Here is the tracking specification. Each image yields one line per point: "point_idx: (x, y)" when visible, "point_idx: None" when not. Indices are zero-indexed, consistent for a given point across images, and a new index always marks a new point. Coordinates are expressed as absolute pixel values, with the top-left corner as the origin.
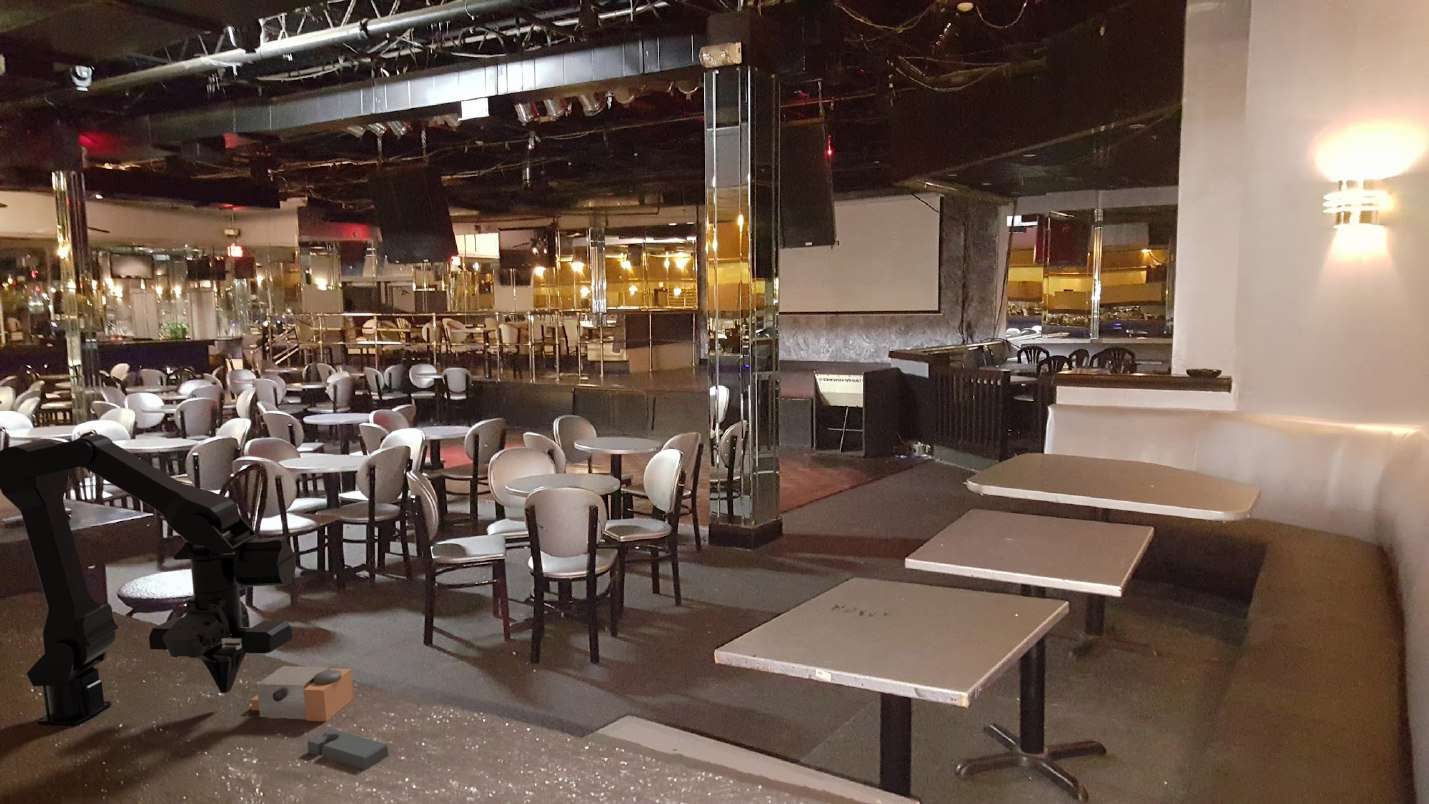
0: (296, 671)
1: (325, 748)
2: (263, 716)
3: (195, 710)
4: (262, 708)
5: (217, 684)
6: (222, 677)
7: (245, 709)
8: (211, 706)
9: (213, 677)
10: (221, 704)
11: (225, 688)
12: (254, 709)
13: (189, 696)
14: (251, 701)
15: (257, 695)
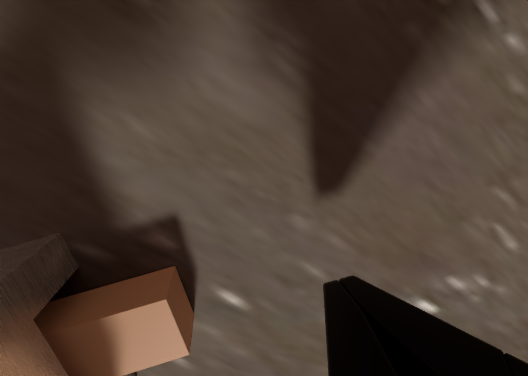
0: None
1: None
2: (38, 241)
3: (417, 182)
4: (5, 263)
5: (390, 299)
6: (367, 355)
7: (213, 261)
8: (379, 228)
9: (446, 328)
10: (353, 254)
11: (329, 299)
12: (161, 272)
13: (520, 252)
14: (165, 293)
15: (175, 338)
